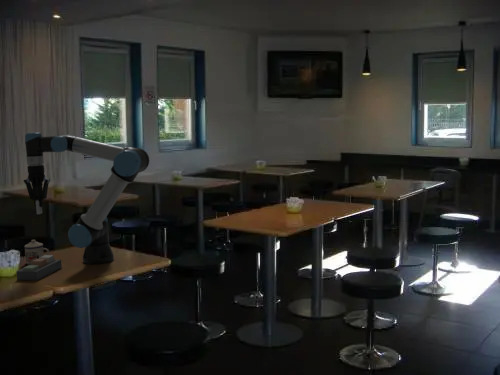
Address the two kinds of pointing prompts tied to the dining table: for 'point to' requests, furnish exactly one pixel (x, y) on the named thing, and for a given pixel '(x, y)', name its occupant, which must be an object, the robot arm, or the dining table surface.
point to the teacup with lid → (34, 251)
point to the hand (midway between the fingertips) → (39, 213)
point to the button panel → (39, 271)
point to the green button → (31, 268)
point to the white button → (48, 258)
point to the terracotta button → (39, 262)
